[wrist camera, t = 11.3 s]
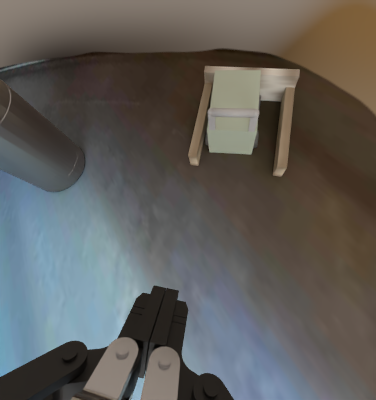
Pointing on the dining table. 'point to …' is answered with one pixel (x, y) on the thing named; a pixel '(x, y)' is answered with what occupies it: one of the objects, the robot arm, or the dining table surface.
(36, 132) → the robot arm
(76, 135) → the dining table surface
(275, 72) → the birch bay
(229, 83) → the sage trolley
